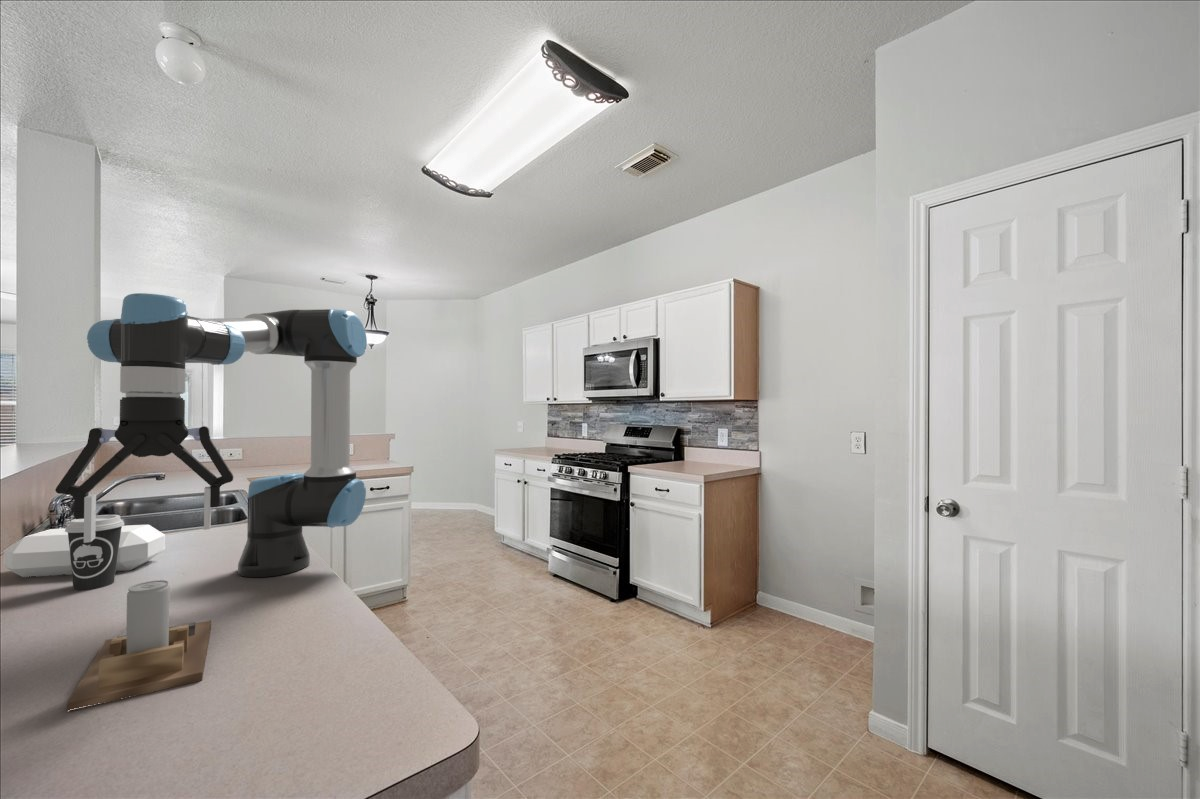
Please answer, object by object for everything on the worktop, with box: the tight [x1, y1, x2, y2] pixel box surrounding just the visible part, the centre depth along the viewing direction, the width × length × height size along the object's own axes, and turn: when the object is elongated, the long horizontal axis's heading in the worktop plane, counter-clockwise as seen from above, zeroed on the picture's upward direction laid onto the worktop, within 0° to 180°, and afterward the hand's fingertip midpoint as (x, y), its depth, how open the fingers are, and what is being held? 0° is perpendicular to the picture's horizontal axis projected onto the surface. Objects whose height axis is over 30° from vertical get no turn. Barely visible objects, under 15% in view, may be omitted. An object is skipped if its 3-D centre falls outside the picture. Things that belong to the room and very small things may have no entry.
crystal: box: [3, 524, 166, 578], centre depth 126 cm, size 14×10×28 cm
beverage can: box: [125, 579, 170, 654], centre depth 76 cm, size 5×5×12 cm
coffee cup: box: [65, 514, 126, 591], centre depth 114 cm, size 10×10×15 cm
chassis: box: [66, 620, 212, 711], centre depth 80 cm, size 14×22×5 cm, turn 35°
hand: (151, 534), depth 78 cm, fingers open, 13 cm apart
